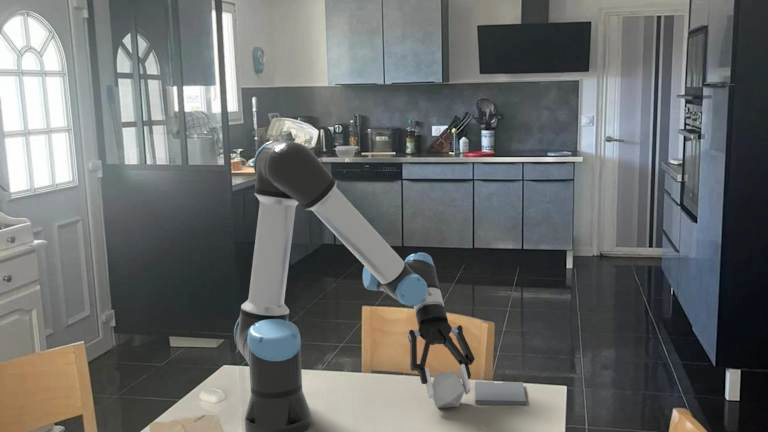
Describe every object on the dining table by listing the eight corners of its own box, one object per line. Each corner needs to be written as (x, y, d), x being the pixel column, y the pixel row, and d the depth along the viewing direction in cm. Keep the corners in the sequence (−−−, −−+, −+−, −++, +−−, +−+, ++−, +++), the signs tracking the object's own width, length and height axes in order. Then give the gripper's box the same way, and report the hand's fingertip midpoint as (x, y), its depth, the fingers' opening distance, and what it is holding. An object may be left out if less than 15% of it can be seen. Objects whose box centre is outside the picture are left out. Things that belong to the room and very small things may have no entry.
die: (454, 418, 182) (474, 381, 184) (422, 399, 183) (442, 362, 184) (451, 415, 190) (469, 380, 192) (420, 398, 191) (439, 363, 192)
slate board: (475, 403, 188) (475, 399, 188) (475, 385, 200) (475, 381, 200) (525, 404, 187) (525, 400, 186) (522, 385, 198) (522, 382, 198)
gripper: (391, 305, 192) (408, 392, 179) (473, 298, 196) (496, 382, 183) (386, 320, 198) (403, 405, 185) (466, 313, 202) (488, 395, 189)
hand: (449, 393), depth 184 cm, fingers closed on die, 8 cm apart
